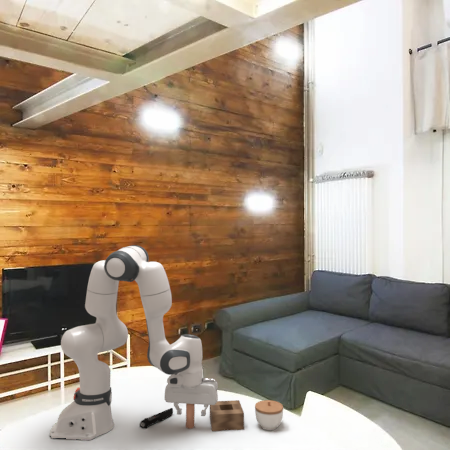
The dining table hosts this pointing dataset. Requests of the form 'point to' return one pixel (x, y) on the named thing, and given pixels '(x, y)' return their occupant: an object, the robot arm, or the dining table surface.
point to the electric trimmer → (156, 418)
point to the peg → (190, 415)
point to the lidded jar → (269, 414)
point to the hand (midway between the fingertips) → (191, 414)
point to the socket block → (227, 416)
